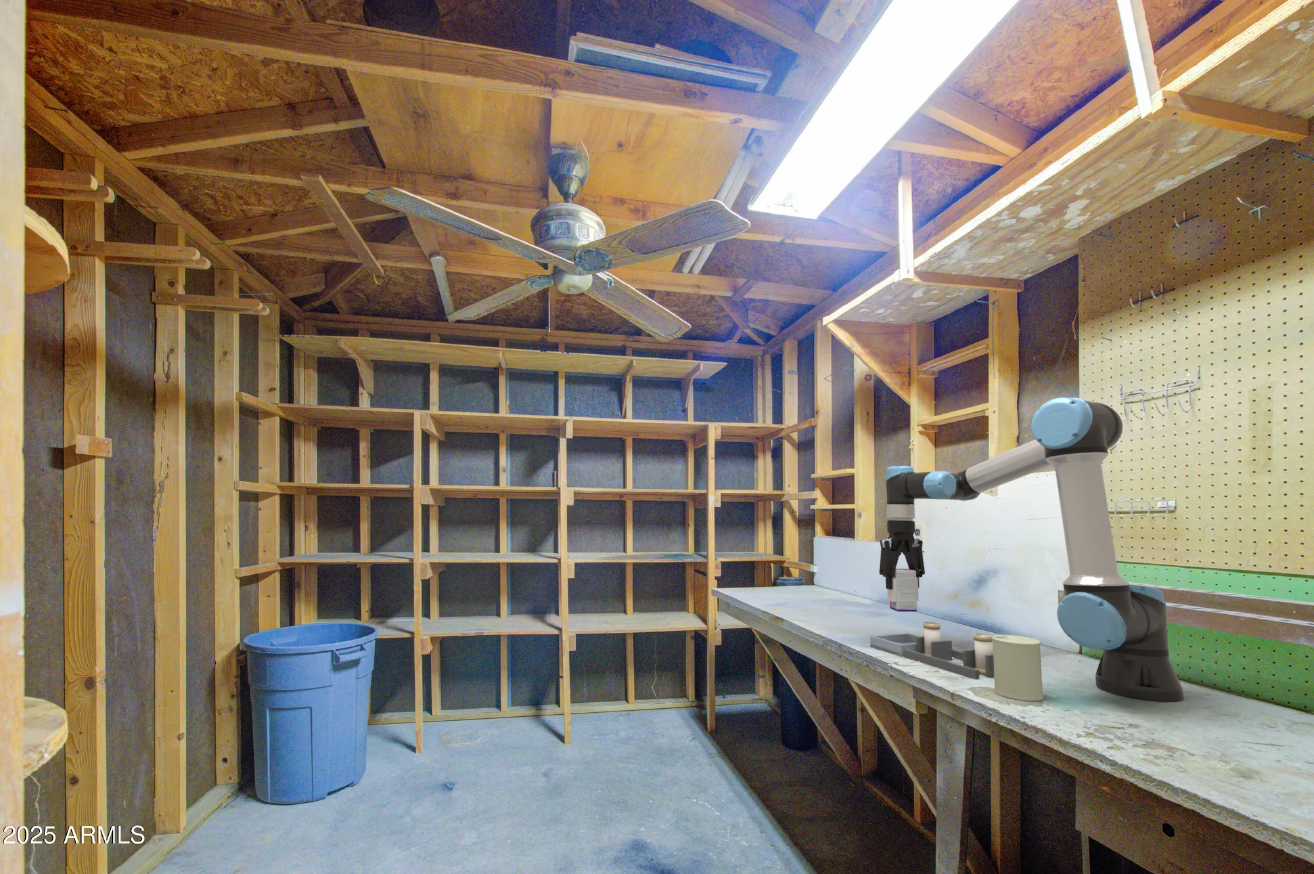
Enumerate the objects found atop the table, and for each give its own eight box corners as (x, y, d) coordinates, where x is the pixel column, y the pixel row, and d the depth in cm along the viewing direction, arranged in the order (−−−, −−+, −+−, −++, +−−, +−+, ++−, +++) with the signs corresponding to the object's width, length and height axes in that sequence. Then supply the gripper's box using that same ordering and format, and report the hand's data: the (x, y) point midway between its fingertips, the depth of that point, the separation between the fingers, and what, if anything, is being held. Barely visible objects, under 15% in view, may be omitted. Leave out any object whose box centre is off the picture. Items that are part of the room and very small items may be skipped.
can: (996, 685, 136) (993, 630, 138) (1045, 693, 131) (1041, 636, 132) (991, 695, 129) (988, 637, 130) (1042, 703, 123) (1039, 643, 125)
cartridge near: (999, 674, 145) (997, 636, 146) (986, 676, 144) (984, 637, 145) (983, 670, 149) (982, 632, 150) (971, 671, 148) (969, 633, 149)
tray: (940, 652, 167) (940, 641, 168) (901, 656, 162) (901, 644, 163) (908, 643, 179) (908, 633, 179) (870, 646, 173) (870, 636, 174)
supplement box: (918, 611, 169) (916, 570, 170) (897, 611, 169) (895, 570, 170) (910, 608, 175) (908, 568, 176) (889, 608, 175) (887, 568, 176)
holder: (1017, 674, 146) (1016, 652, 147) (975, 679, 141) (974, 657, 142) (942, 653, 167) (941, 634, 167) (904, 657, 162) (903, 637, 162)
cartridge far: (945, 659, 160) (943, 624, 161) (933, 660, 159) (931, 625, 160) (932, 655, 164) (931, 621, 165) (920, 656, 162) (919, 622, 163)
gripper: (917, 519, 182) (920, 597, 179) (864, 518, 175) (865, 599, 172) (937, 520, 175) (940, 601, 172) (882, 519, 168) (884, 604, 165)
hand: (903, 600), depth 172 cm, fingers closed on supplement box, 7 cm apart
